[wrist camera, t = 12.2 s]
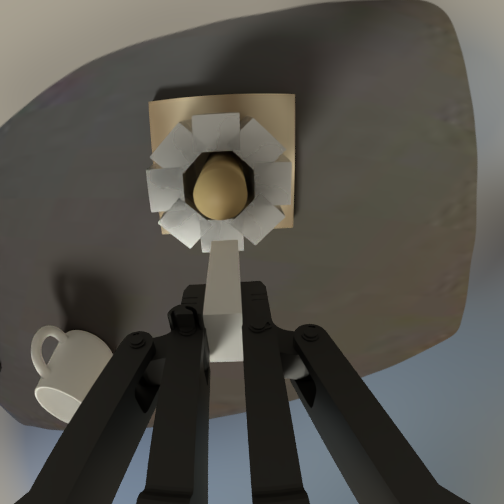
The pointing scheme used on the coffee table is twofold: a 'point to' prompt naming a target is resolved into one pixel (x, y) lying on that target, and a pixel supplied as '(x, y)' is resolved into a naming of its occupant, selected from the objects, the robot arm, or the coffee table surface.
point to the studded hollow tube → (184, 179)
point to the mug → (67, 369)
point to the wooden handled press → (227, 162)
